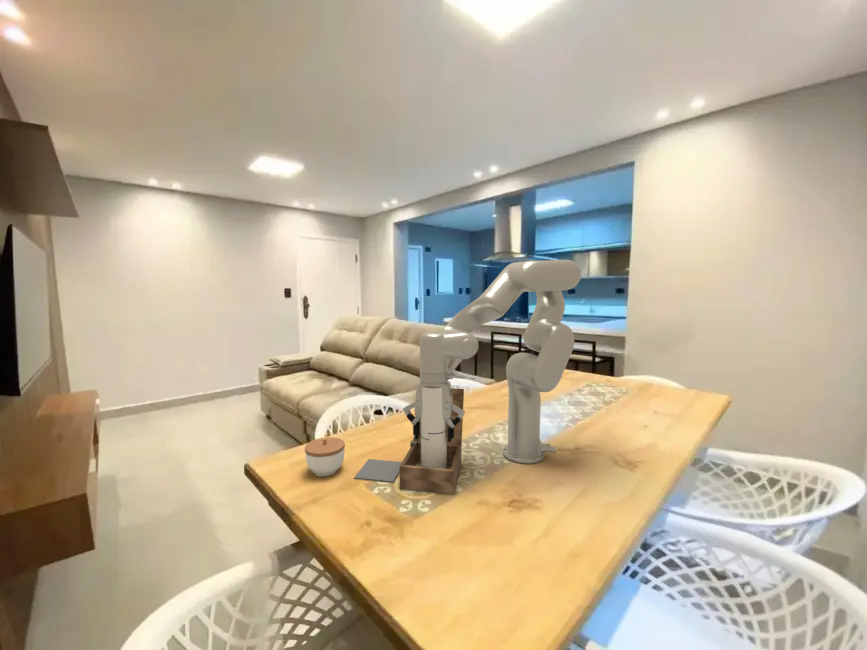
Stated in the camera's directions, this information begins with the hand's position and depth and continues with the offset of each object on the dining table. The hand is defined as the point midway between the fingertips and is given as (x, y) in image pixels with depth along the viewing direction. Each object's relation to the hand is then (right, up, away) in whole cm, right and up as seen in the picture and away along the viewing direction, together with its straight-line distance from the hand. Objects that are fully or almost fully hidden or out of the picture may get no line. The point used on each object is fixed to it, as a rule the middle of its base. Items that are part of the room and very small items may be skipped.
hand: (433, 438), depth 103 cm
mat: (-15, -10, +2) cm, 18 cm away
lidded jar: (-30, -10, +2) cm, 32 cm away
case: (0, -10, +2) cm, 10 cm away
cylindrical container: (0, -10, +1) cm, 10 cm away
